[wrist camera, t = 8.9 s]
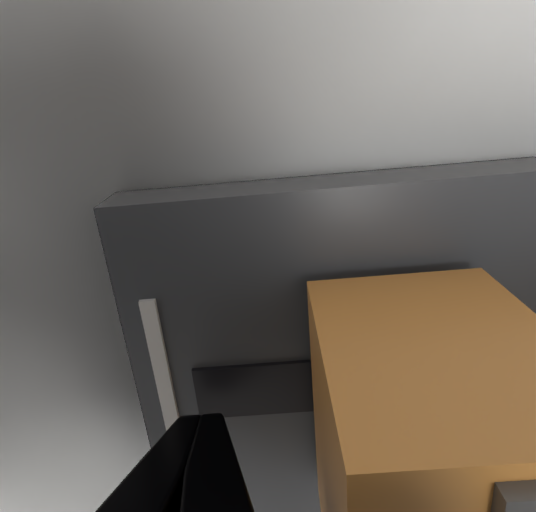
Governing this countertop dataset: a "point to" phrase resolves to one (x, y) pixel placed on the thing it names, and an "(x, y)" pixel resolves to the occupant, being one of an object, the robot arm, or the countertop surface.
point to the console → (289, 288)
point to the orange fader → (423, 393)
